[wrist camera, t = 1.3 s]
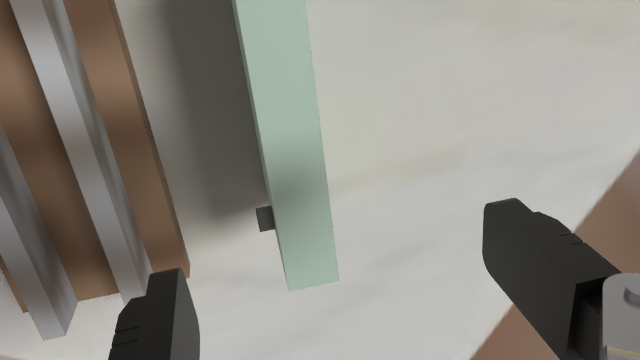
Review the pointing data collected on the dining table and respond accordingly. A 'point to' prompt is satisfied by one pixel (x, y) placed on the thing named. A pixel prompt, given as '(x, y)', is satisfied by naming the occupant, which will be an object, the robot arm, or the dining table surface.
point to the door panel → (288, 136)
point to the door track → (77, 163)
